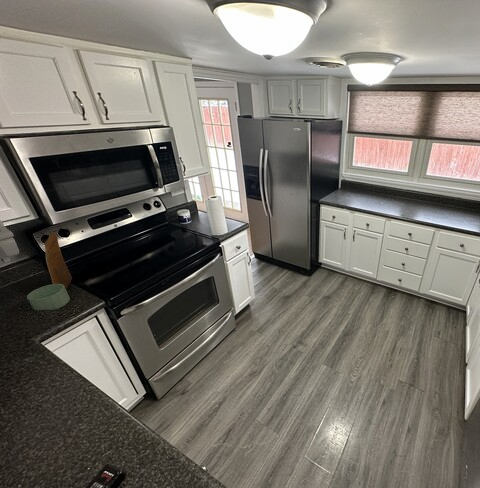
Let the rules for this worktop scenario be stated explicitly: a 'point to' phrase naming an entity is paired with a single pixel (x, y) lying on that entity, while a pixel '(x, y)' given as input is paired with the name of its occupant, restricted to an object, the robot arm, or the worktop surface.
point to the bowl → (49, 297)
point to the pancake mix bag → (56, 262)
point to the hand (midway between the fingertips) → (6, 261)
